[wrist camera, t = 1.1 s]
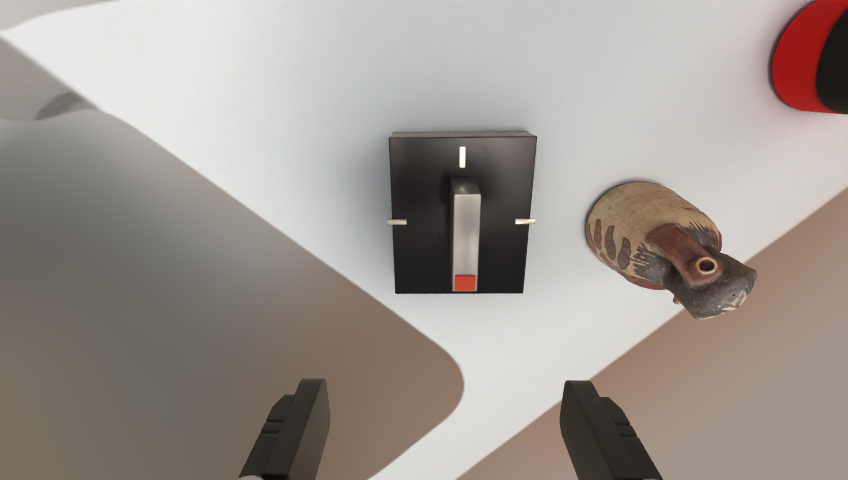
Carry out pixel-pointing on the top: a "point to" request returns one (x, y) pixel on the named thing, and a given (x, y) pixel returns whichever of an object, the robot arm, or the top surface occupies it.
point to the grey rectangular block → (464, 233)
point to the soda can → (815, 59)
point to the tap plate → (430, 206)
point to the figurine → (667, 248)
